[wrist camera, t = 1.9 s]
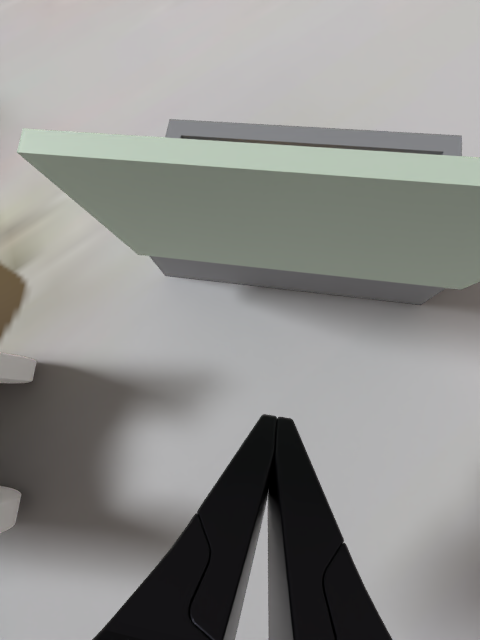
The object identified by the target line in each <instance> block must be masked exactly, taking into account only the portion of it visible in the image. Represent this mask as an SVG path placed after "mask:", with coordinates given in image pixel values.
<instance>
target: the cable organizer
mask: <svg viewBox="0 0 480 640" xmlns="http://www.w3.org/2000/svg"><path fill="white" fill-rule="evenodd" d="M36 362H37V361H36V360H34V359H32V358H28V357H24V356H19V355H14V354H9V353H4V352H0V383H28V382H31V381H33V376H34V372H35V367H36ZM20 499H21V493H20V492H19V491H18V490H15V489H13V488H9V487H4V486H0V533H2V532H4V531H6V530H8V529H10V528H12V527H13V526H14V525H15V523H16V519H17V514H18V509H19V504H20Z"/></svg>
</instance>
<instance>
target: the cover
mask: <svg viewBox="0 0 480 640" xmlns="http://www.w3.org/2000/svg"><path fill="white" fill-rule="evenodd" d="M17 153H18V154H20V155H21V156H22V157H23V158H24V159H25V160H27V161H28V162H29V163H30V164H31V165H33V166H34V167H35V168H36V169H37V170H38V171H40V172H41V173H42V174H43V175H44V176H46V177H47V178H48V179H49V180H50V181H52V182H53V183H54V184H55V185H56V186H57V187H59V188H60V189H61V190H62V191H63V192H65V193H66V194H67V195H68V196H69V197H70V198H72V199H73V200H74V201H75V202H76V203H78V204H79V205H80V206H81V207H82V208H84V209H85V210H86V211H87V212H88V213H89V214H91V215H92V216H93V217H94V218H95V219H97V220H98V221H99V222H100V223H101V224H102V225H104V226H105V227H106V228H107V229H108V230H110V231H111V232H112V233H113V234H114V235H115V236H117V237H118V238H119V239H120V240H121V241H123V242H124V243H125V244H126V245H127V246H129V247H130V248H131V249H132V250H133V251H134V252H136V253H137V254H138V255H145V256H155V257H164V258H173V259H183V260H192V261H201V262H210V263H220V264H229V265H238V266H247V267H257V268H266V269H275V270H285V271H294V272H303V273H312V274H322V275H331V276H340V277H349V278H359V279H368V280H377V281H386V282H396V283H405V284H414V285H424V286H433V287H442V288H451V289H464V288H466V287H469V286H471V285H473V284H476V283H478V282H480V157H464V156H449V155H433V154H417V153H401V152H386V151H370V150H354V149H338V148H322V147H307V146H291V145H275V144H259V143H244V142H228V141H212V140H196V139H180V138H165V137H149V136H133V135H117V134H102V133H86V132H70V131H54V130H38V129H23V130H22V134H21V138H20V142H19V146H18V150H17Z"/></svg>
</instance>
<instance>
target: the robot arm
mask: <svg viewBox="0 0 480 640" xmlns="http://www.w3.org/2000/svg"><path fill="white" fill-rule="evenodd" d="M268 489H269V491H268ZM267 496H268V611H269V640H392V638H391V636H390V634H389V632H388V631H387V629H386V627H385V625H384V623H383V621H382V619H381V618H380V616H379V614H378V612H377V610H376V608H375V606H374V604H373V602H372V600H371V598H370V596H369V594H368V592H367V590H366V588H365V586H364V584H363V582H362V580H361V577H360V575H359V573H358V571H357V569H356V566H355V564H354V562H353V560H352V557H351V555H350V553H349V550H348V548H347V546H346V544H345V543H343V542H344V539H343V537H342V534H341V532H340V530H339V527H338V525H337V523H336V520H335V518H334V515H333V513H332V511H331V508H330V506H329V504H328V501H327V499H326V497H325V494H324V492H323V490H322V487H321V485H320V483H319V480H318V478H317V475H316V473H315V471H314V468H313V466H312V464H311V461H310V459H309V457H308V454H307V452H306V450H305V447H304V445H303V443H302V440H301V438H300V436H299V433H298V431H297V428H296V426H295V424H294V422H293V420H292V419H290V418H284V417H278V418H277V417H276V416H272V415H266V414H264V415H262V416H261V417H260V419H259V420H258V422H257V423H256V425H255V426H254V428H253V429H252V431H251V432H250V434H249V435H248V437H247V438H246V440H245V441H244V442H243V444H242V445H241V447H240V448H239V450H238V451H237V453H236V454H235V456H234V457H233V459H232V460H231V462H230V463H229V465H228V466H227V468H226V469H225V471H224V472H223V474H222V475H221V477H220V478H219V480H218V481H217V483H216V484H215V486H214V487H213V489H212V490H211V491H210V493H209V494H208V496H207V497H206V499H205V500H204V502H203V503H202V505H201V506H200V508H199V509H198V511H197V513H196V514H195V515H194V516H193V518H192V519H191V521H190V522H189V524H188V525H187V527H186V528H185V530H184V531H183V532H182V534H181V535H180V537H179V538H178V539H177V541H176V542H175V543H174V545H173V546H172V548H171V549H170V550H169V551H168V553H167V554H166V555H165V556H164V557H163V559H162V560H161V561H160V562H159V564H158V565H157V566H156V567H155V569H154V570H153V571H152V572H151V573H150V574H149V576H148V577H147V578H146V579H145V580H144V581H143V583H142V584H141V585H140V586H139V587H138V588H137V590H136V591H135V592H134V593H133V594H132V596H131V597H130V598H129V599H128V600H127V601H126V603H125V604H124V605H123V606H122V607H121V608H120V610H119V611H118V612H117V613H116V614H115V615H114V617H113V618H112V619H111V620H110V621H109V622H108V623H107V625H106V626H105V627H104V628H103V629H102V630H101V631H100V632H99V633H98V634H97V635H96V636H95V637H94V639H92V640H235V636H236V632H237V628H238V623H239V619H240V615H241V610H242V606H243V602H244V597H245V593H246V589H247V584H248V580H249V576H250V571H251V567H252V563H253V558H254V554H255V550H256V545H257V541H258V537H259V532H260V528H261V524H262V519H263V515H264V511H265V506H266V501H267Z"/></svg>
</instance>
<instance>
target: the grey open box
mask: <svg viewBox="0 0 480 640" xmlns="http://www.w3.org/2000/svg"><path fill="white" fill-rule="evenodd" d="M165 138H180V139H196V140H212V141H228V142H244V143H259V144H275V145H291V146H307V147H322V148H338V149H354V150H370V151H386V152H401V153H417V154H433V155H449V156H462V136H459V135H441V134H424V133H406V132H388V131H371V130H353V129H335V128H317V127H300V126H282V125H264V124H247V123H229V122H211V121H194V120H176V119H170V120H169V124H168V128H167V132H166V136H165ZM150 257H151V259H152V260H153V261H154V262H155V264H156V265H157V266H158V267H159V269H160V270H161V271H162V272H163V274H164V275H165V276H174V277H183V278H192V279H200V280H209V281H218V282H226V283H235V284H244V285H253V286H261V287H270V288H279V289H288V290H296V291H305V292H314V293H323V294H331V295H340V296H349V297H358V298H366V299H375V300H384V301H392V302H401V303H410V304H419V305H421V304H422V303H424V302H426V301H427V300H429V299H430V298H432V297H433V296H435V295H436V294H438V293H439V292H441V291H442V290H444V289H445V288H442V287H433V286H424V285H414V284H405V283H396V282H386V281H377V280H368V279H359V278H349V277H340V276H331V275H322V274H312V273H303V272H294V271H285V270H275V269H266V268H257V267H247V266H238V265H229V264H220V263H210V262H201V261H192V260H183V259H173V258H164V257H155V256H150Z"/></svg>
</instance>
